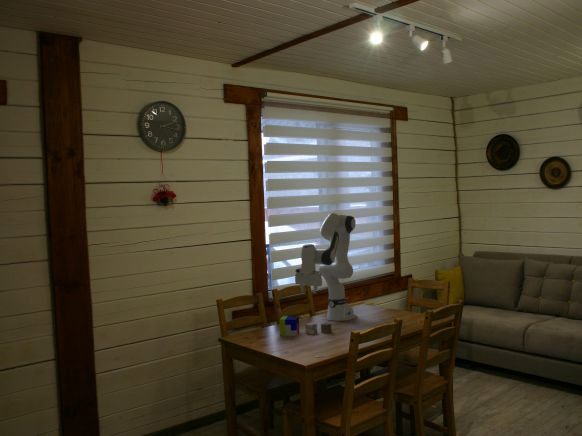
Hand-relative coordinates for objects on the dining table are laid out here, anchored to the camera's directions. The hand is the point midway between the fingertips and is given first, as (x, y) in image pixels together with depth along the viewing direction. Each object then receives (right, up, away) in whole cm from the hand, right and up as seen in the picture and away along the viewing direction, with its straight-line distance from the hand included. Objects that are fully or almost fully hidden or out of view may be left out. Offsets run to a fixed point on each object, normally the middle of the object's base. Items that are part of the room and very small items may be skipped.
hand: (308, 292), depth 323 cm
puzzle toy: (-12, -25, -4) cm, 28 cm away
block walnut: (+11, -24, -2) cm, 27 cm away
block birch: (+2, -24, -3) cm, 25 cm away
